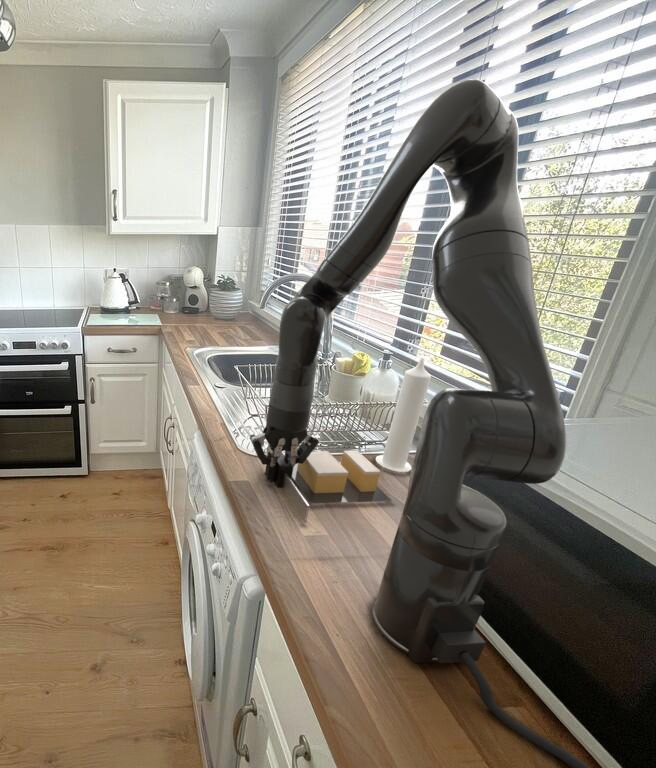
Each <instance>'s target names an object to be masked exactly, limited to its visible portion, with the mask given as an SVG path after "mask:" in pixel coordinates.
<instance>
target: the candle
mask: <svg viewBox="0 0 656 768" xmlns="http://www.w3.org/2000/svg"><path fill="white" fill-rule="evenodd" d="M431 378H432V375H431V374H430V373H429V372H428V371H427V370H426V368H425V359H424V358H423V357H421V358H420V359H419V361H418V362H417V364H416V366H415V367H412V368H410V369H407V370H405V371H404V375H403V378H402V383H401V386H400V389H399V394H398V397H397V402H396V405H395V409H394V412H393V416H392V420H391V423H390V427H389V431H388V434H387V435H388V436H387V439H386V444H385V447H384V451H383V454H380V455H377V456H375V461H376V463H377V464H379V465H380V466H381V467H383V468H385V469H387V470H390V471H393V472H399V473H407V472H411V470H412V465H411V463H410V462H408V458H409V455H410V451H411V449H412V444H413V441H414V437H415V433H416V430H417V428H418V427H417V426H418V424H419V420H420V416H421V414H422V413H421V412H422V410H423V406H424V402H425V399H426V396H427V392H428V390H429V385H430V382H431Z"/></svg>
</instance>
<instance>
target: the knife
mask: <svg viewBox="0 0 656 768" xmlns="http://www.w3.org/2000/svg"><path fill="white" fill-rule="evenodd" d="M292 467H293V466H292V465H291V464H290V462H289V461H288V460H287V458H286V457H285V453H283V451H281V454H280V457H279V458H278V460H277V463H276V473H275V479H274V482H273V484H274V486H275V487H276V489H282V490H283V492H284V493H285V495H286V496H287V497H288V499H289V501H290V502H291V504H292V505H293V507H294V508H295V510H296V511H297V513H298V514H299V516H300V517H301V519H302V520H303V522H304V523H307V522H308V517H309V512H310V507H311V506H310V504H309V502H308V501H307V500H306V498H305V497H304V496H303V494H302V492H301V490H299V489H298V487H297V485H296V483H294V481H293V480H292V477H291V473H292Z"/></svg>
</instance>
